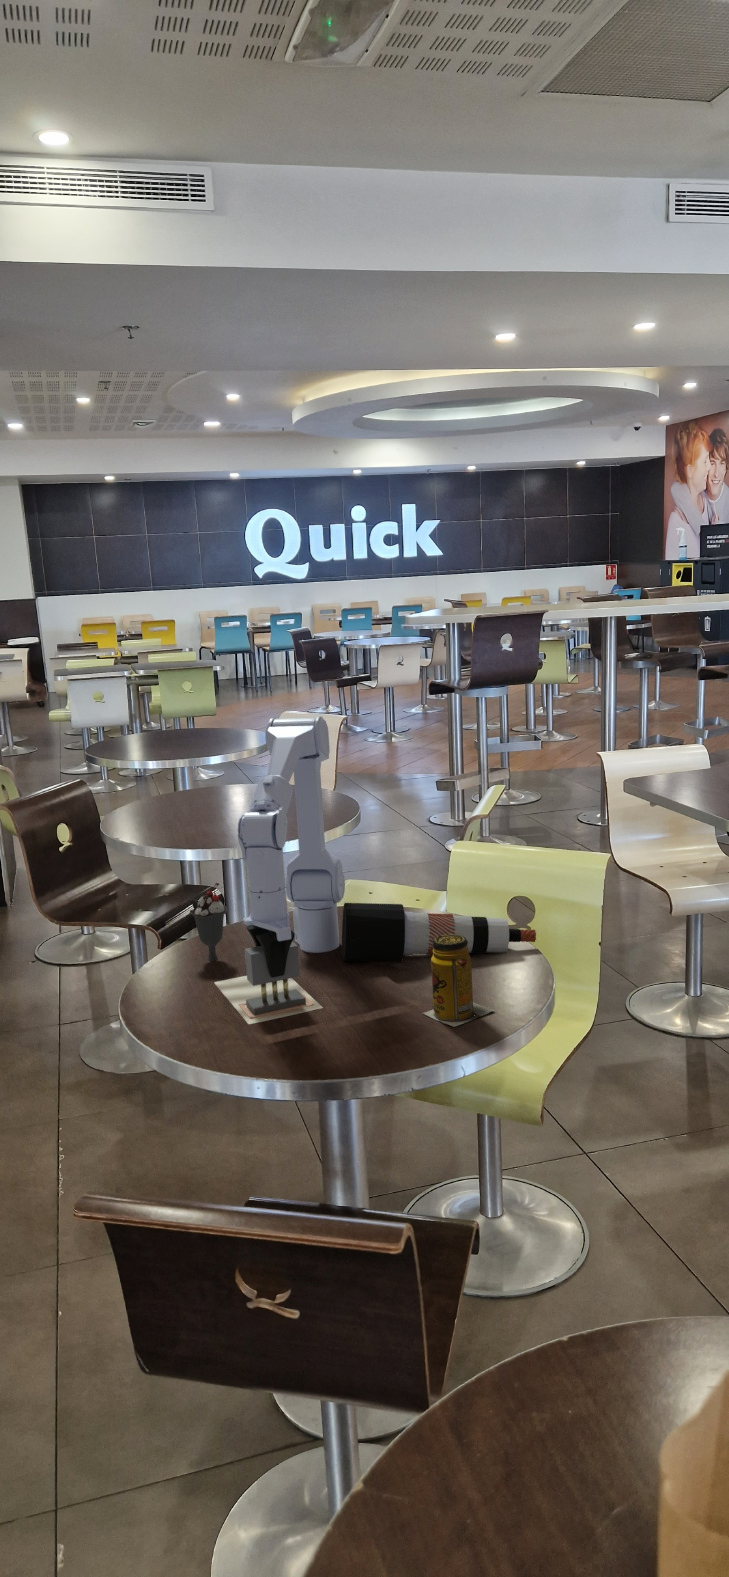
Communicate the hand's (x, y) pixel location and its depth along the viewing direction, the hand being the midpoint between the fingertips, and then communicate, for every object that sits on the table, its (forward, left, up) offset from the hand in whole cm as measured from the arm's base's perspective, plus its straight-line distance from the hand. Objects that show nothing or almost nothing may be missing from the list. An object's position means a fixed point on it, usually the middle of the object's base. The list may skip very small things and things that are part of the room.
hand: (273, 972), depth 157 cm
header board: (-5, 0, -6) cm, 8 cm away
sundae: (-27, -3, -7) cm, 27 cm away
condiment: (+15, +24, -7) cm, 29 cm away
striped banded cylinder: (-9, +33, -7) cm, 35 cm away
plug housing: (0, 0, -1) cm, 1 cm away
